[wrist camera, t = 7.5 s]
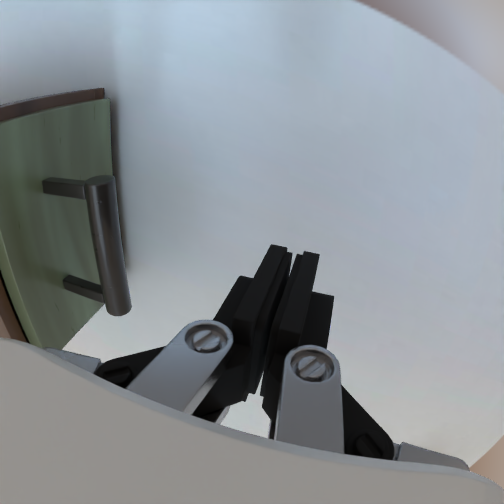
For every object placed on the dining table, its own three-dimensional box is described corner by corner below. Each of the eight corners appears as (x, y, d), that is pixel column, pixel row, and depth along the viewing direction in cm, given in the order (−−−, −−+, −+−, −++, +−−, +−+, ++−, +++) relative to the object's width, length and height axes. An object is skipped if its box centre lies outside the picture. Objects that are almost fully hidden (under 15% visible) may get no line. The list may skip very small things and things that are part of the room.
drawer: (175, 96, 13) (44, 121, 7) (179, 297, 19) (108, 394, 12) (-26, 119, 17) (-99, 148, 11) (-6, 238, 23) (-65, 281, 16)
